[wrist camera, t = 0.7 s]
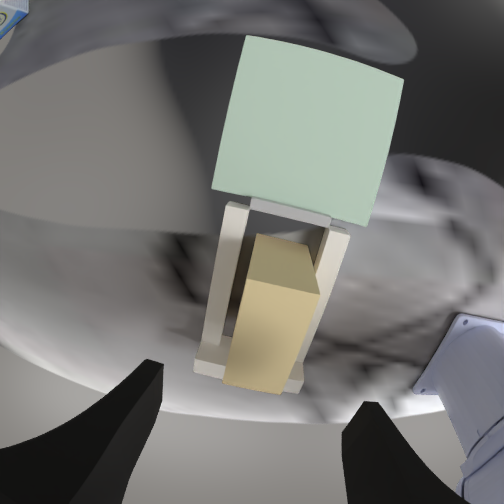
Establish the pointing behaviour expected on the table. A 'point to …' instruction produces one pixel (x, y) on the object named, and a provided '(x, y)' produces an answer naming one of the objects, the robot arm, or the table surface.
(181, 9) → the table surface
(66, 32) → the table surface
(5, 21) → the medicine box
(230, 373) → the tan rectangular block
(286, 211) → the dispenser
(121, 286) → the table surface
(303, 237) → the table surface
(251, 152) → the mat
